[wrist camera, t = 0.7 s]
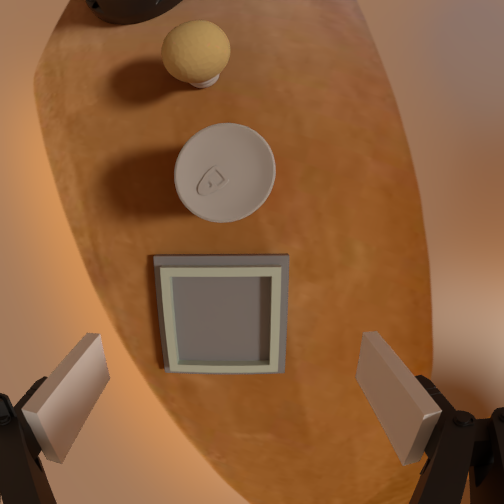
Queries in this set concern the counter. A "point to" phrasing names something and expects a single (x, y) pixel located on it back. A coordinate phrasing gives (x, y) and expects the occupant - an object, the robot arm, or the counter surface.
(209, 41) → the light bulb
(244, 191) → the canned food
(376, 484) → the counter surface
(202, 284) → the coaster
